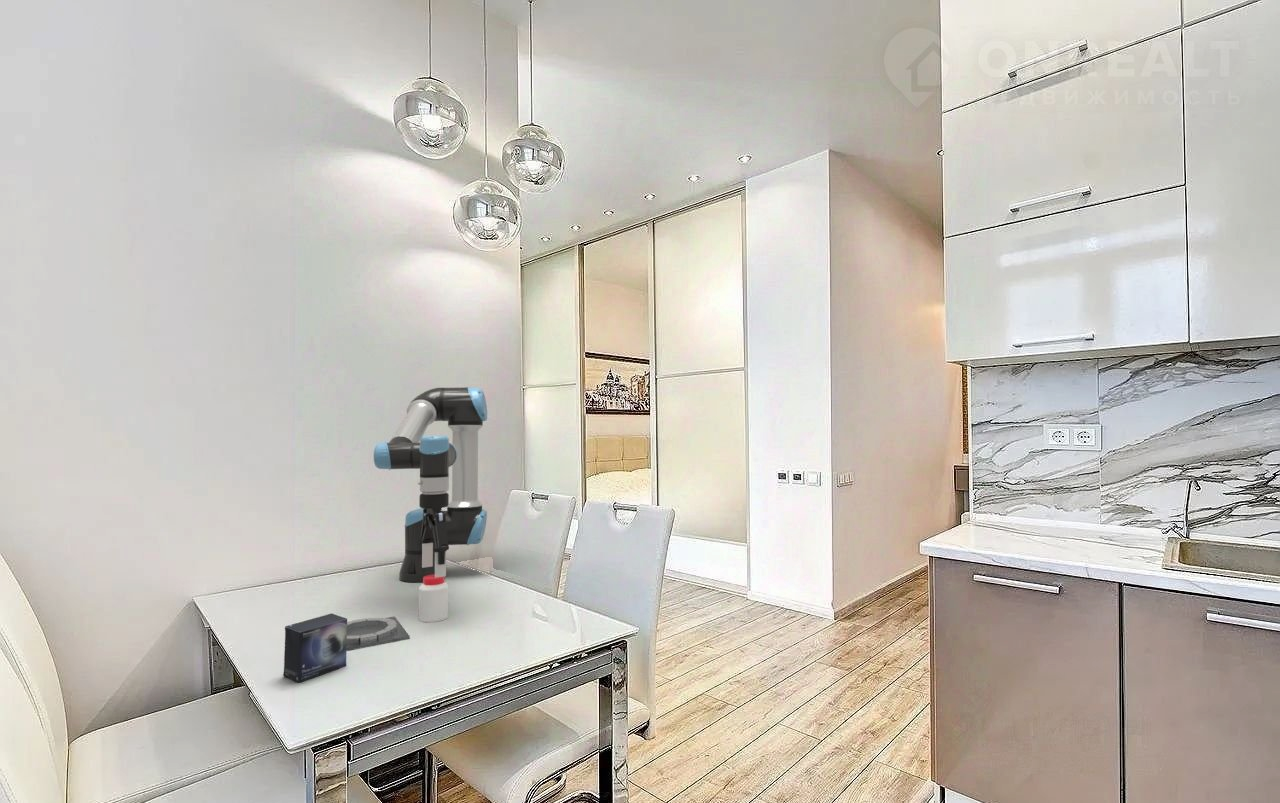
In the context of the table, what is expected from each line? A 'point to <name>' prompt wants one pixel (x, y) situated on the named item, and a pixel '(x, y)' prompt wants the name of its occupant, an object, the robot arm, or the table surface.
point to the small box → (315, 647)
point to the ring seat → (374, 632)
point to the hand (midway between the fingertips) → (433, 571)
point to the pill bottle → (433, 599)
